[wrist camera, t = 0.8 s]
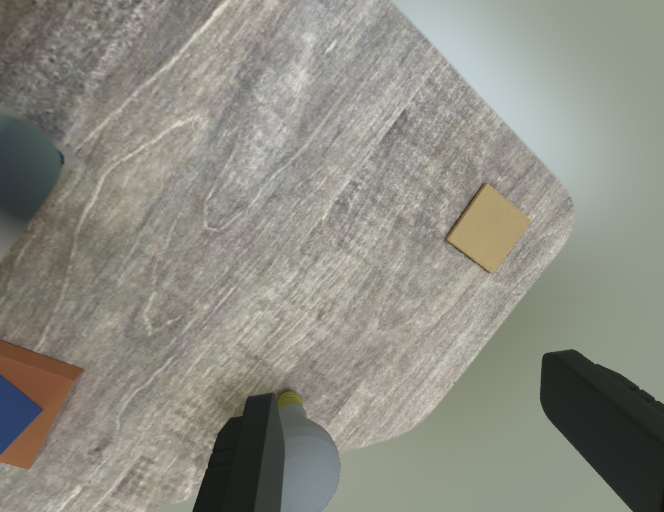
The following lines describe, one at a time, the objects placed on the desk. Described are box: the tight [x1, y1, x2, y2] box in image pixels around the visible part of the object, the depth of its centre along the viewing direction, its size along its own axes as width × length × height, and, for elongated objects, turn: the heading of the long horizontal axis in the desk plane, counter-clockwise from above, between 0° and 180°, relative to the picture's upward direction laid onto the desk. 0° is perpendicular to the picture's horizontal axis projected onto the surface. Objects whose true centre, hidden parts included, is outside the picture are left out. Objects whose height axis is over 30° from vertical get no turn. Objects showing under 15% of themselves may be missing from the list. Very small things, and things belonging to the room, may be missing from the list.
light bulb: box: [277, 391, 340, 512], centre depth 24 cm, size 5×6×10 cm
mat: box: [446, 183, 531, 274], centre depth 29 cm, size 6×6×1 cm
